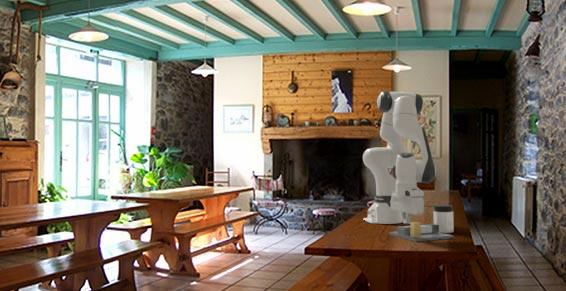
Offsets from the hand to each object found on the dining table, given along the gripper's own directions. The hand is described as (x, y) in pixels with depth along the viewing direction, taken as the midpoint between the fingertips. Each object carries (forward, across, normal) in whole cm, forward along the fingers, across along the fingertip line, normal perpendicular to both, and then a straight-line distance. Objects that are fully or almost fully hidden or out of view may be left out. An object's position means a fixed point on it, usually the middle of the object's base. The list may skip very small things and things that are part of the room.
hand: (406, 223), depth 235 cm
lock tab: (+5, +7, 0) cm, 8 cm away
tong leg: (+5, 0, +10) cm, 11 cm away
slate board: (+6, -1, +7) cm, 10 cm away
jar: (+7, -8, +25) cm, 27 cm away
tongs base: (+5, -2, +7) cm, 9 cm away
